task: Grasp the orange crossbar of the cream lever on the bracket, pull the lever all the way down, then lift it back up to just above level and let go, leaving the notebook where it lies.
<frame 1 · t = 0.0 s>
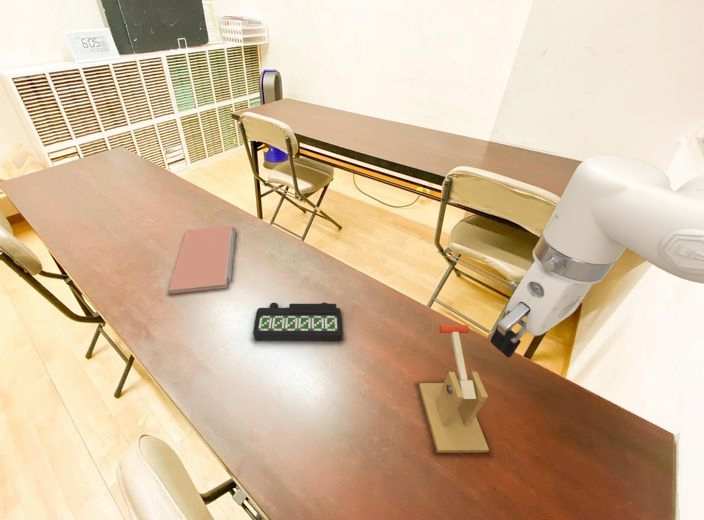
hand: (520, 335, 50), 24 cm above the table, tool pointing down, fingers open, 9 cm apart
notebook: (207, 258, 102), on the table
bracket: (450, 416, 63), on the table
digital display: (298, 324, 81), on the table
lever: (459, 360, 58), point 13 cm above the table, hinge at 30.0°
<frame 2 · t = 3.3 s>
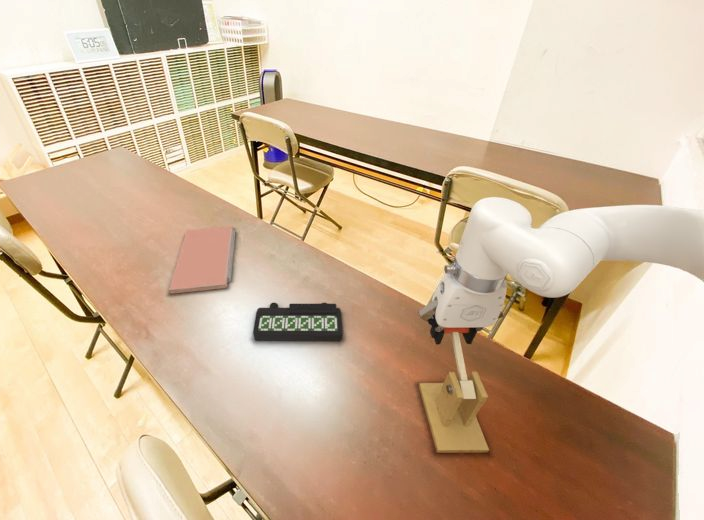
hand: (450, 337, 62), 13 cm above the table, tool pointing down, fingers closed on lever, 5 cm apart
lever: (459, 360, 58), point 13 cm above the table, hinge at 30.0°, touching gripper
everything else where it was.
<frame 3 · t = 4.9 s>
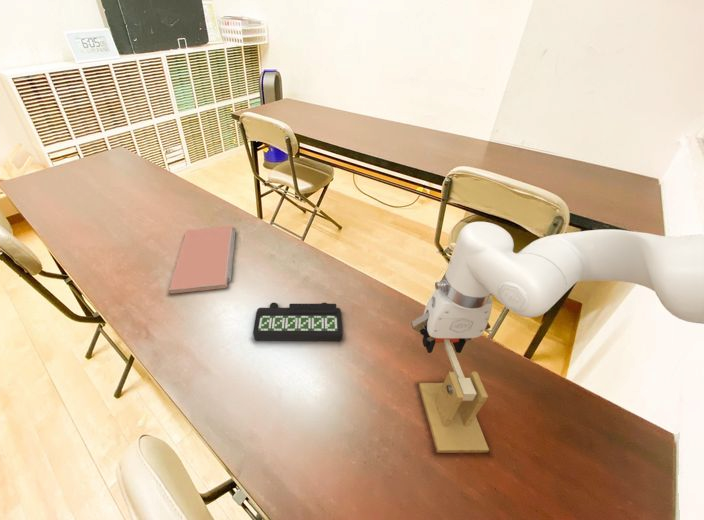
hand: (441, 345, 66), 8 cm above the table, tool pointing down, fingers closed on lever, 5 cm apart
lever: (455, 363, 60), point 11 cm above the table, hinge at -0.7°, touching gripper
everything else where it was.
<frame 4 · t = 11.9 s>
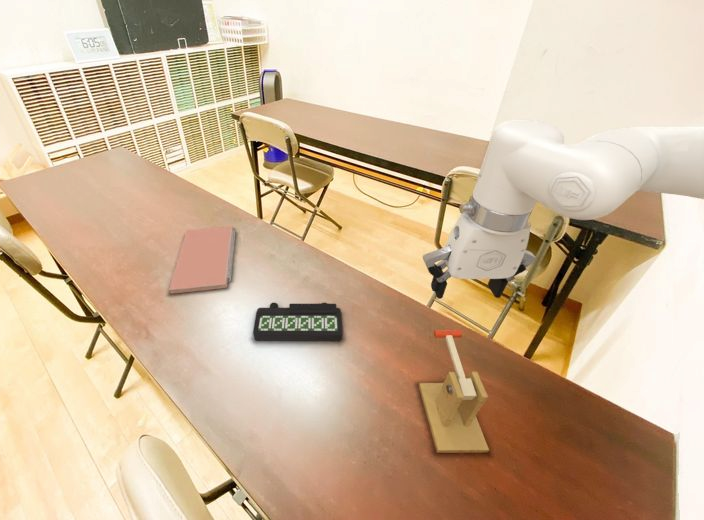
hand: (465, 291, 56), 25 cm above the table, tool pointing down, fingers open, 9 cm apart
lever: (456, 361, 60), point 12 cm above the table, hinge at 10.0°
everything else where it was.
at the end: lever reached -23° during the clip, +10° at the end; lever at +10° (first picture: +30°); notebook moved 0.2 cm from its start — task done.
